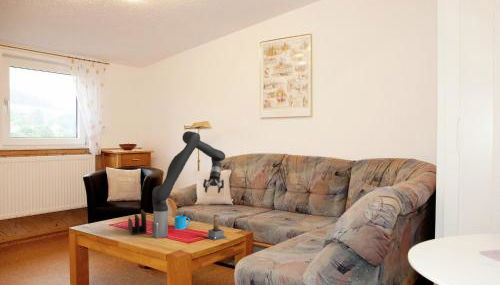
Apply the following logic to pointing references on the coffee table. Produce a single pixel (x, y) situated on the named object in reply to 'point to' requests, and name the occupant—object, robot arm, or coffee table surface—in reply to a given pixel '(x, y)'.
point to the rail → (216, 223)
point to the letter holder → (138, 225)
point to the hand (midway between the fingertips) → (212, 192)
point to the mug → (181, 222)
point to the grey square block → (216, 234)
